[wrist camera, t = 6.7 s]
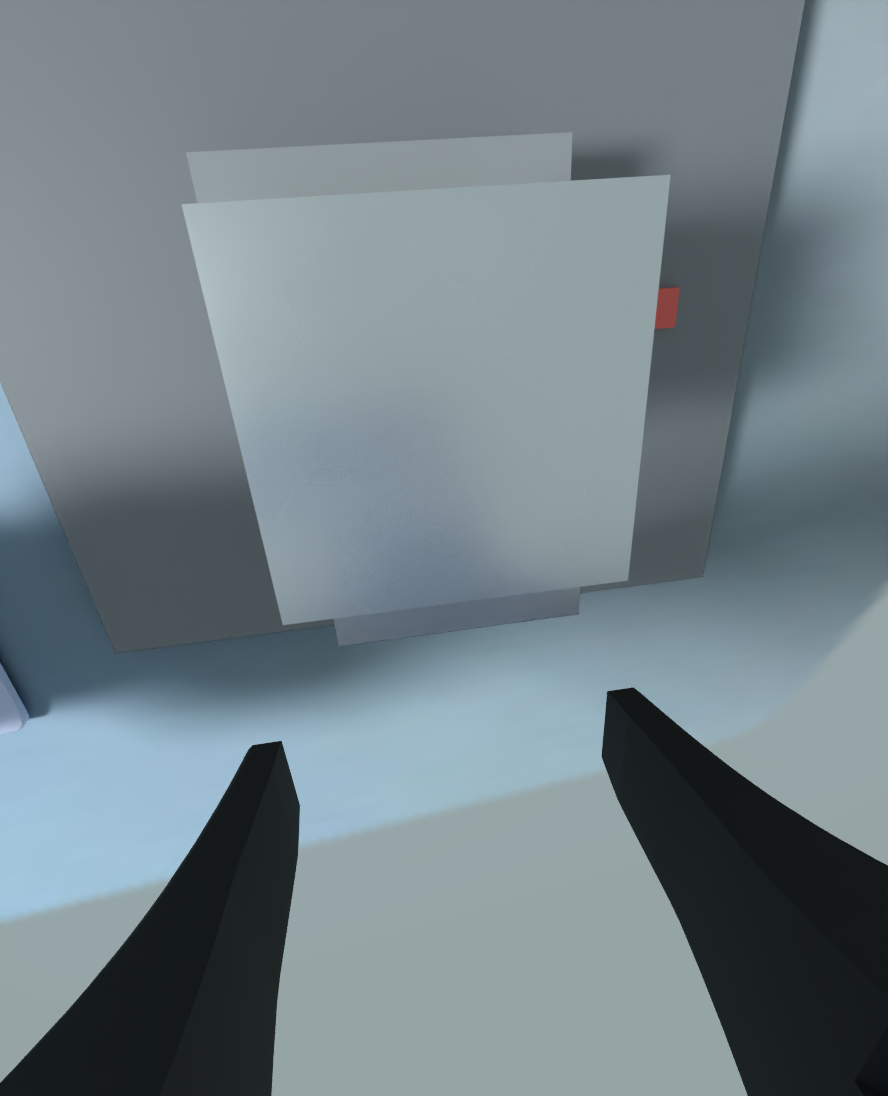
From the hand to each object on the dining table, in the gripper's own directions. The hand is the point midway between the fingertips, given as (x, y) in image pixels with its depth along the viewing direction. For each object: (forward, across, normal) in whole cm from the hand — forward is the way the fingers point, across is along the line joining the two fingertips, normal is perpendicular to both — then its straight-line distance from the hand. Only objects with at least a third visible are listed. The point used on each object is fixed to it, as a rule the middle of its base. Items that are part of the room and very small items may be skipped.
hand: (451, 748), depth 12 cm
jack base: (+8, 0, -8) cm, 11 cm away
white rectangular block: (+4, 0, -8) cm, 9 cm away
